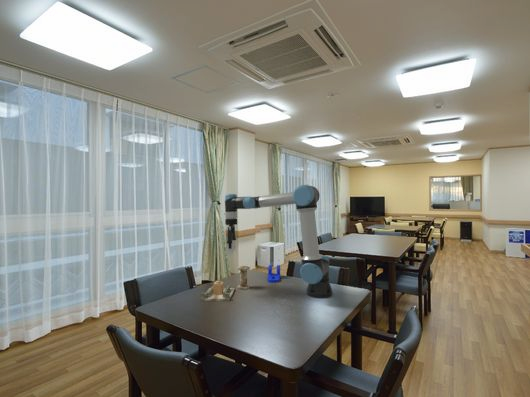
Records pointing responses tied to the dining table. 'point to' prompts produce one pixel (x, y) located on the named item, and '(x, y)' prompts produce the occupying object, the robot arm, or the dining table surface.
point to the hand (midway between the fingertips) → (231, 252)
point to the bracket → (273, 275)
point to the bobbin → (243, 277)
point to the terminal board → (218, 295)
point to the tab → (218, 287)
